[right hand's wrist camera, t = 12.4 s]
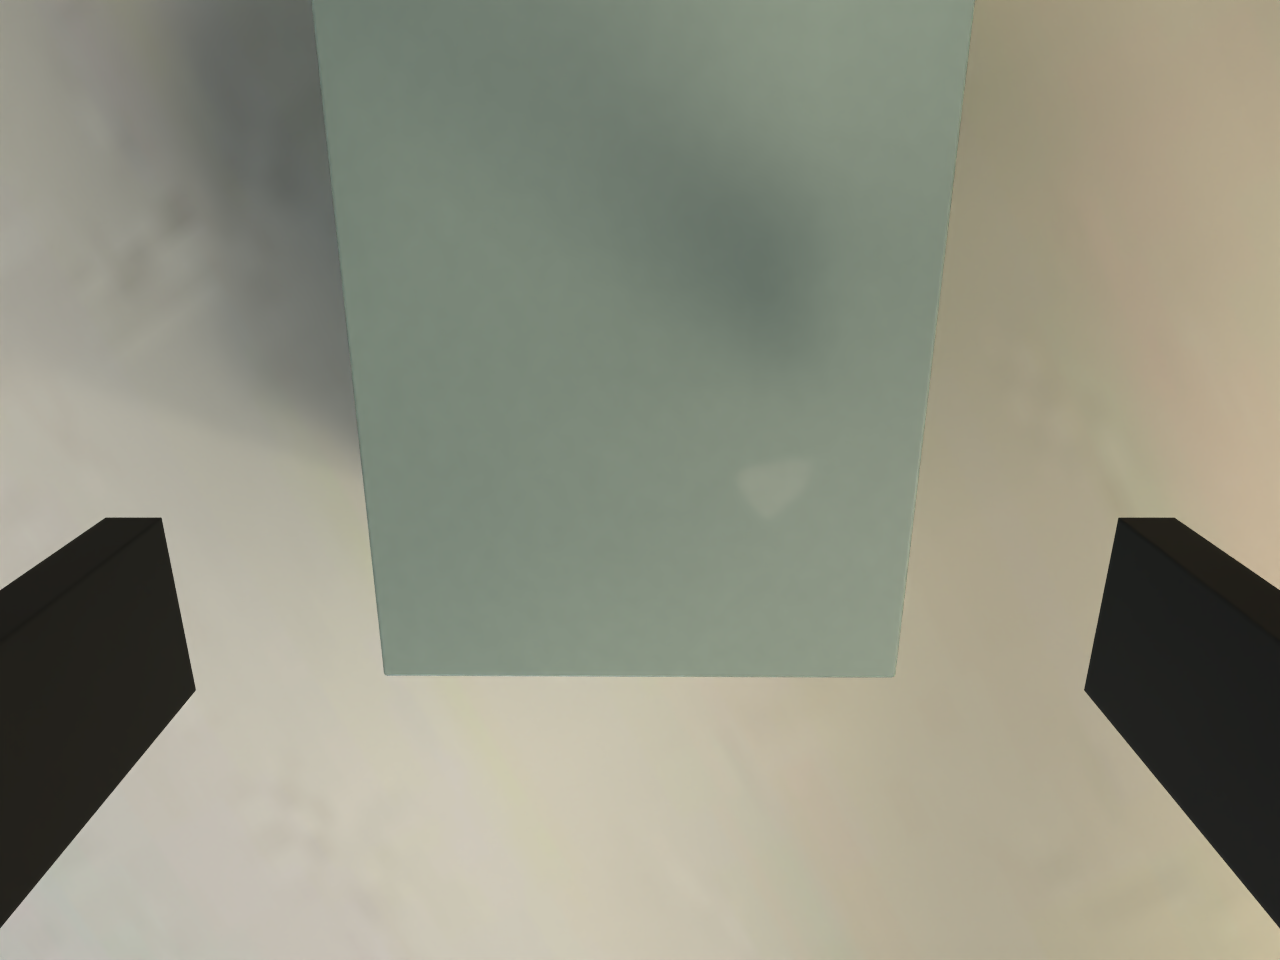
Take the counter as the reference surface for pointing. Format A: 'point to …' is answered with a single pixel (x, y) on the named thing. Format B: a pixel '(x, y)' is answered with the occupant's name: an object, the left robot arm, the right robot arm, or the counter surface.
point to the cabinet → (641, 323)
